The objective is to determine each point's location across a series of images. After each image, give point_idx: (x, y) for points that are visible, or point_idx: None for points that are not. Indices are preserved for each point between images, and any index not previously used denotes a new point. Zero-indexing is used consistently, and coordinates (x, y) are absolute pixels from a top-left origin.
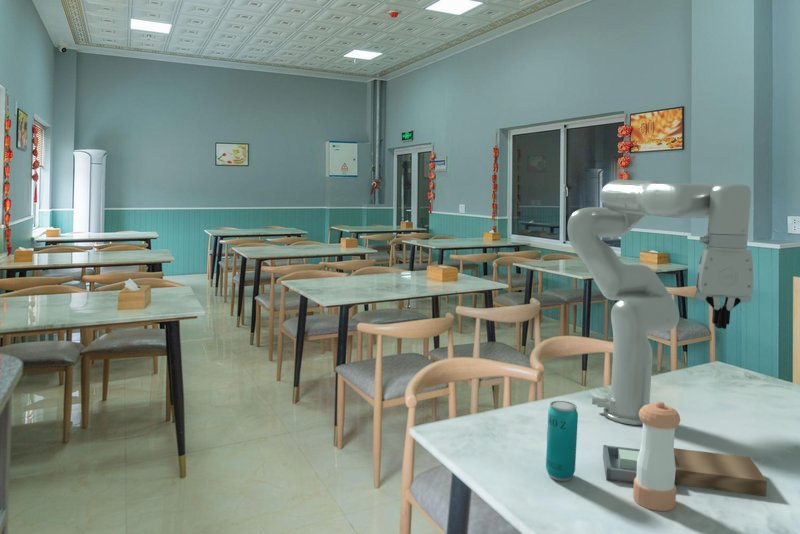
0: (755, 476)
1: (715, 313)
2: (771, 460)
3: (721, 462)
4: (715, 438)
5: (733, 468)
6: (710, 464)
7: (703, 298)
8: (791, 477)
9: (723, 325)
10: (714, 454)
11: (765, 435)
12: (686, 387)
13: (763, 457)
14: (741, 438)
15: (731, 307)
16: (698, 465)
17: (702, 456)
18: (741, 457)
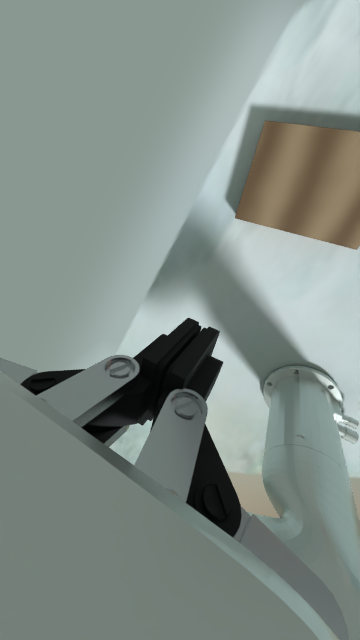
0: (272, 137)
1: (204, 388)
2: (191, 252)
3: (294, 191)
4: (221, 316)
5: (290, 166)
6: (321, 178)
7: (260, 550)
8: (196, 203)
9: (194, 327)
10: (285, 223)
11: (161, 317)
12: None
13: (196, 260)
14: (190, 313)
15: (108, 367)
16: (350, 170)
17: (312, 213)
18: (248, 214)
